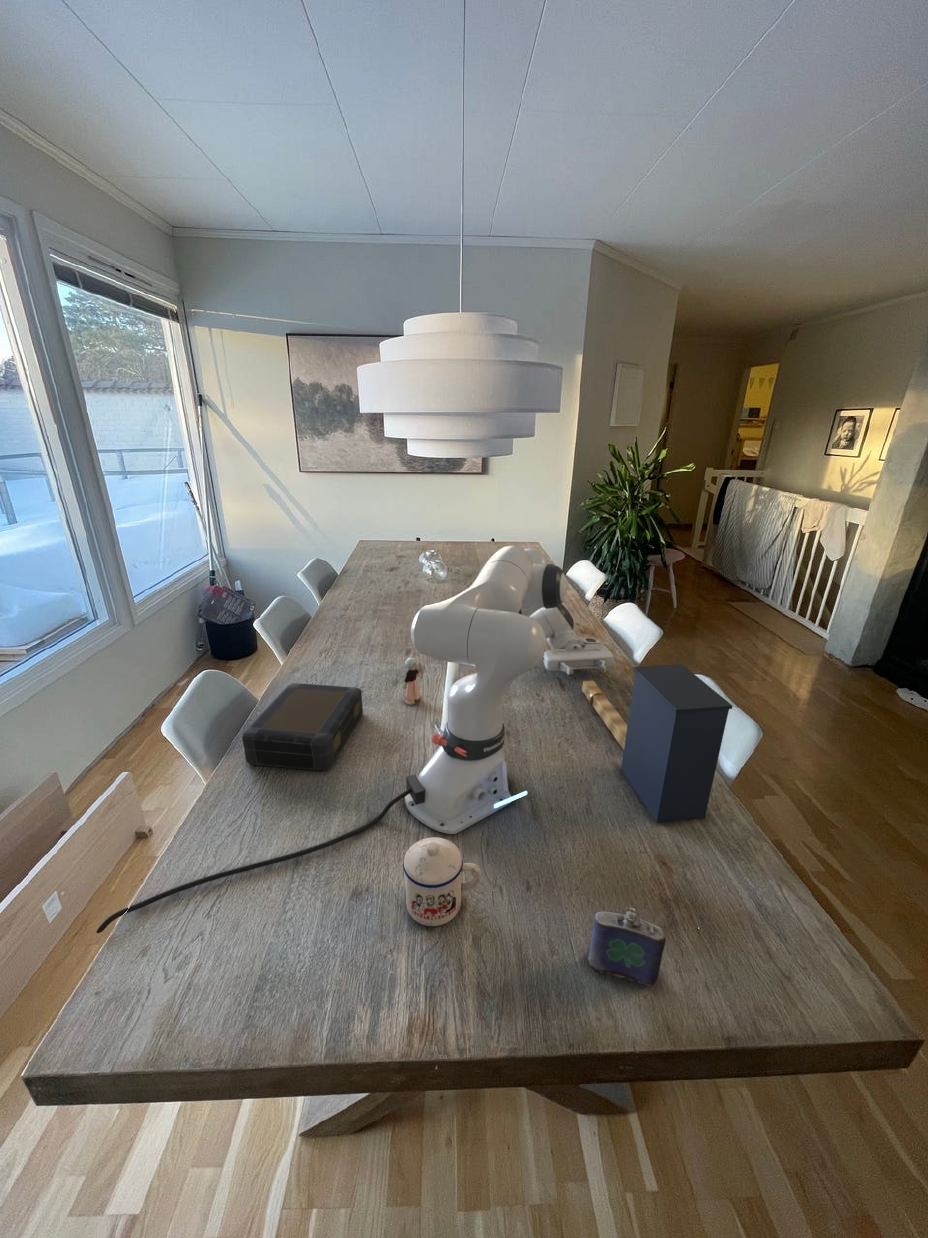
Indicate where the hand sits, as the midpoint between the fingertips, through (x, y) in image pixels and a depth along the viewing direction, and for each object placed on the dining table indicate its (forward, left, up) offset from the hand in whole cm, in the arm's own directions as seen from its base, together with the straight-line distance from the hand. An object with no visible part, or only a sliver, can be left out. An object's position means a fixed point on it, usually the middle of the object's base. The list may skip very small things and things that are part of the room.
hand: (587, 671), depth 144 cm
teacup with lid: (-77, -18, -6) cm, 79 cm away
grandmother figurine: (-37, +32, -6) cm, 49 cm away
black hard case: (-66, +38, -6) cm, 76 cm away
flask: (-68, -44, -6) cm, 81 cm away
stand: (-28, -33, -6) cm, 44 cm away
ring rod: (-10, -12, -5) cm, 17 cm away
